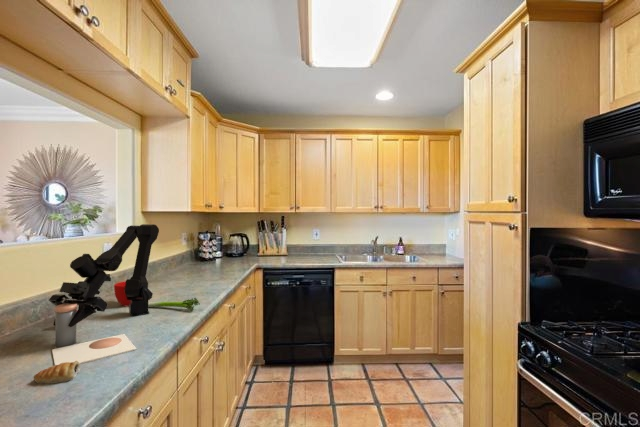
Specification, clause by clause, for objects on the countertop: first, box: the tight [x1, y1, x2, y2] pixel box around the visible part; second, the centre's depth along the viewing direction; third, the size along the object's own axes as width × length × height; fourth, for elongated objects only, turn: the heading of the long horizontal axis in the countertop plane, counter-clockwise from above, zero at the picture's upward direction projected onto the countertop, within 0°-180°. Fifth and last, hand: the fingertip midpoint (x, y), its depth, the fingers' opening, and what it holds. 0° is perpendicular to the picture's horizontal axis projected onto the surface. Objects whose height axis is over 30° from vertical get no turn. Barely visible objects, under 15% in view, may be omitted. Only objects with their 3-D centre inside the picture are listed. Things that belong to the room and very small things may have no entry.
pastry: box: [33, 361, 81, 384], centre depth 85 cm, size 9×7×4 cm
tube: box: [54, 303, 78, 349], centre depth 107 cm, size 6×6×13 cm
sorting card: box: [51, 333, 137, 365], centre depth 102 cm, size 20×17×1 cm
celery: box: [148, 297, 201, 312], centre depth 147 cm, size 6×7×30 cm
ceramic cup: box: [113, 280, 131, 307], centre depth 155 cm, size 13×17×10 cm
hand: (62, 326), depth 105 cm, fingers closed on tube, 5 cm apart
